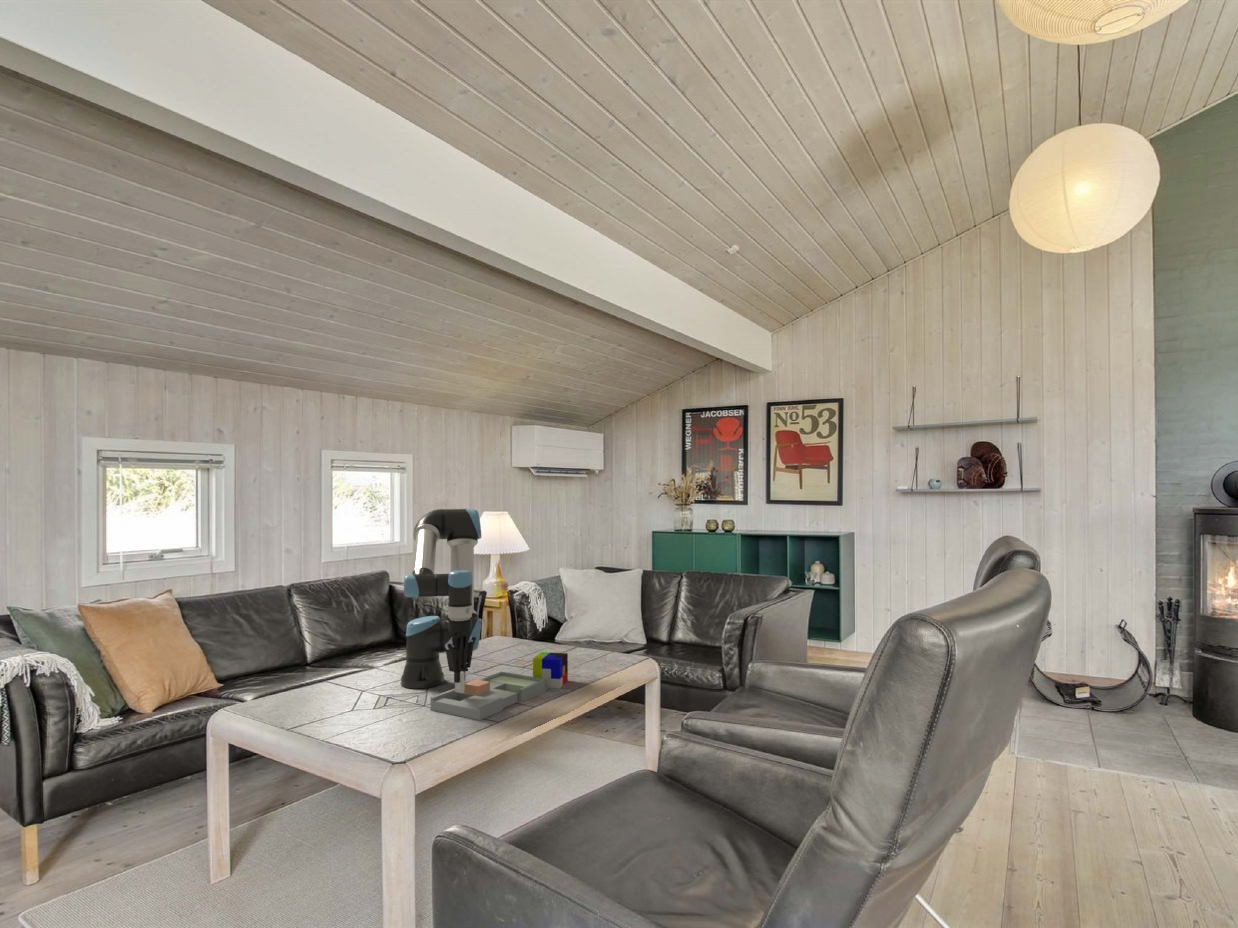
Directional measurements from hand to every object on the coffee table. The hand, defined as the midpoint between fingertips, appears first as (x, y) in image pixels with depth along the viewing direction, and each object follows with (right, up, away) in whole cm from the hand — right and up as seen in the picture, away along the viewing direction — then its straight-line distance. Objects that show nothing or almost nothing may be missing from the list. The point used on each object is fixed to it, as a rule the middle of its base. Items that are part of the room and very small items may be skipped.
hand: (459, 691), depth 225 cm
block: (+5, -2, +5) cm, 7 cm away
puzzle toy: (+27, -6, +26) cm, 38 cm away
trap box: (+9, -5, +6) cm, 12 cm away
